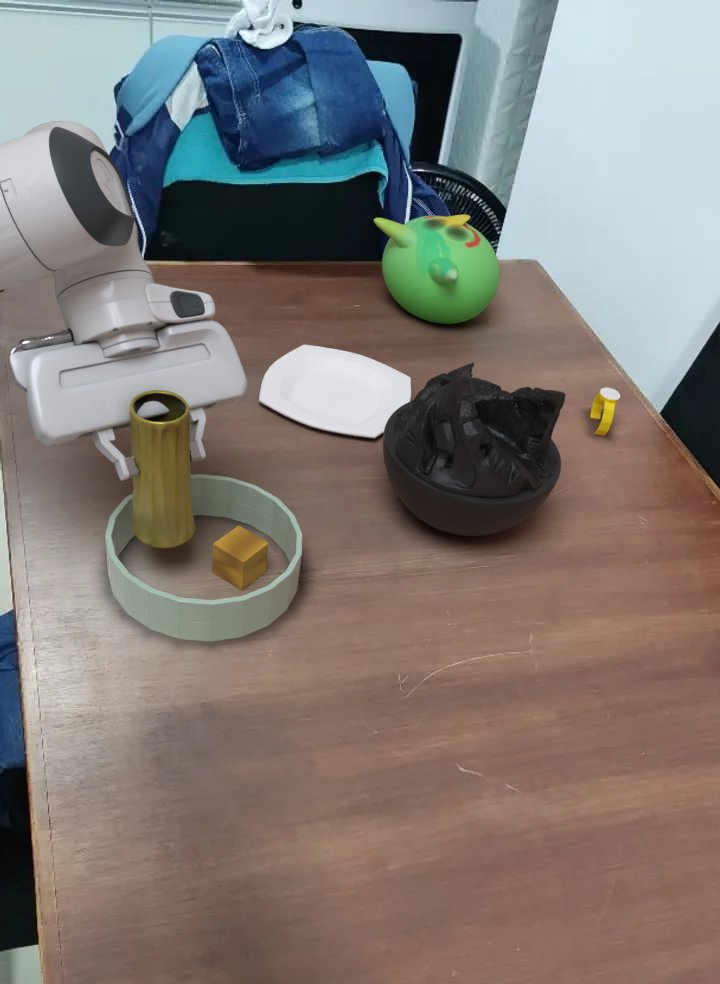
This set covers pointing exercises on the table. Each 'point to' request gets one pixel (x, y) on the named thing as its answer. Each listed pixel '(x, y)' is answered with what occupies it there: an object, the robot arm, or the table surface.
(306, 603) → the table surface
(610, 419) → the watch
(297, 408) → the plate
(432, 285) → the toy bird
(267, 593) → the ring
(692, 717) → the table surface
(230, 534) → the block
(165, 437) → the vase
